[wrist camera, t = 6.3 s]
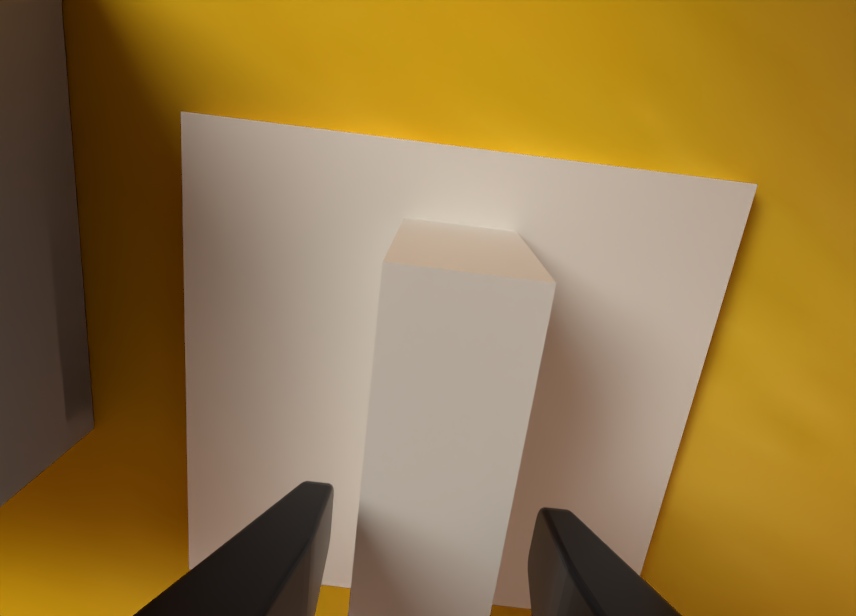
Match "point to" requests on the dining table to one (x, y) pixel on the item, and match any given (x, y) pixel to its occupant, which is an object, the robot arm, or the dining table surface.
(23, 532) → the dining table surface
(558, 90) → the dining table surface
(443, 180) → the lid
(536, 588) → the robot arm
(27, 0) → the grey open box
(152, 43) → the dining table surface
